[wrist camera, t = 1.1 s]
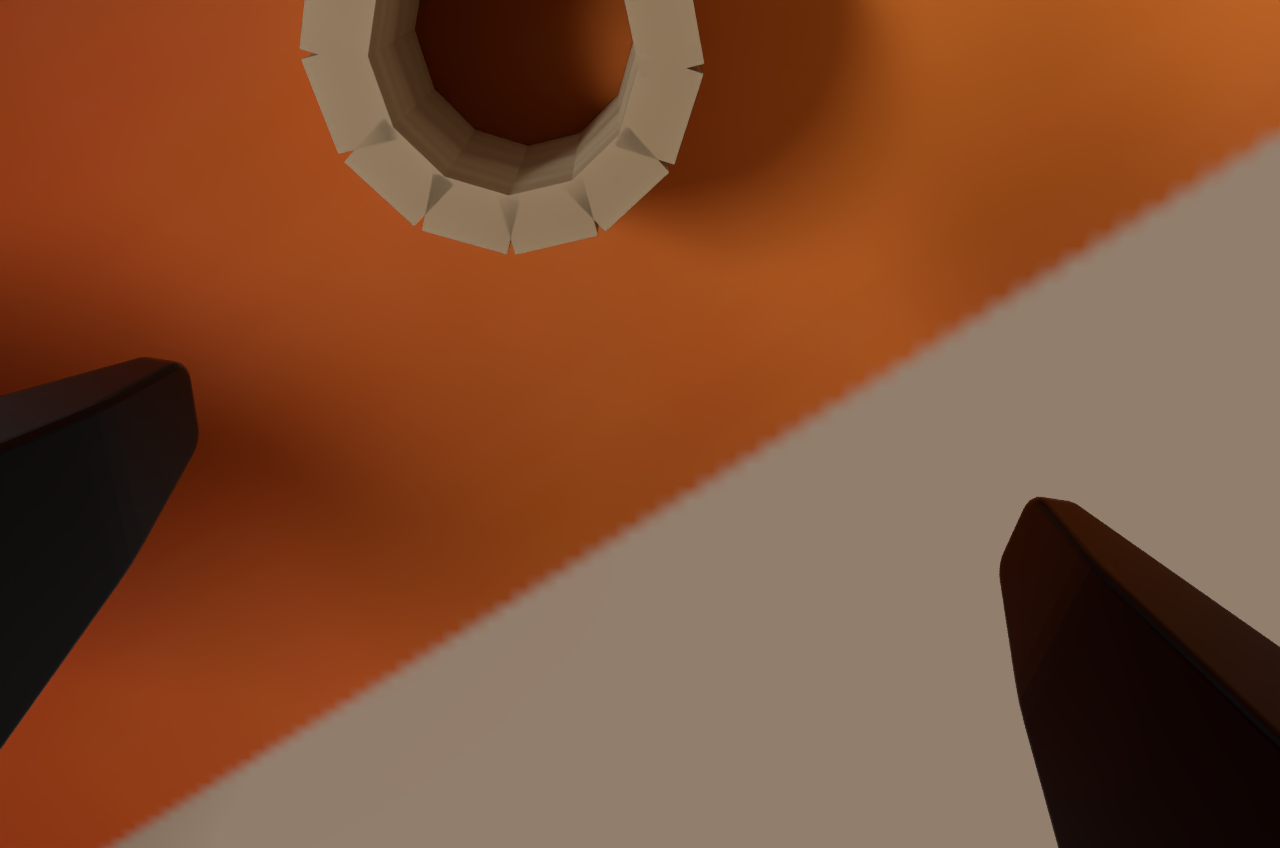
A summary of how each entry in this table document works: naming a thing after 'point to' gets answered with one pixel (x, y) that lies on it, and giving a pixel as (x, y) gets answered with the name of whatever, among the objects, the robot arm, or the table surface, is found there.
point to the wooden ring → (490, 165)
